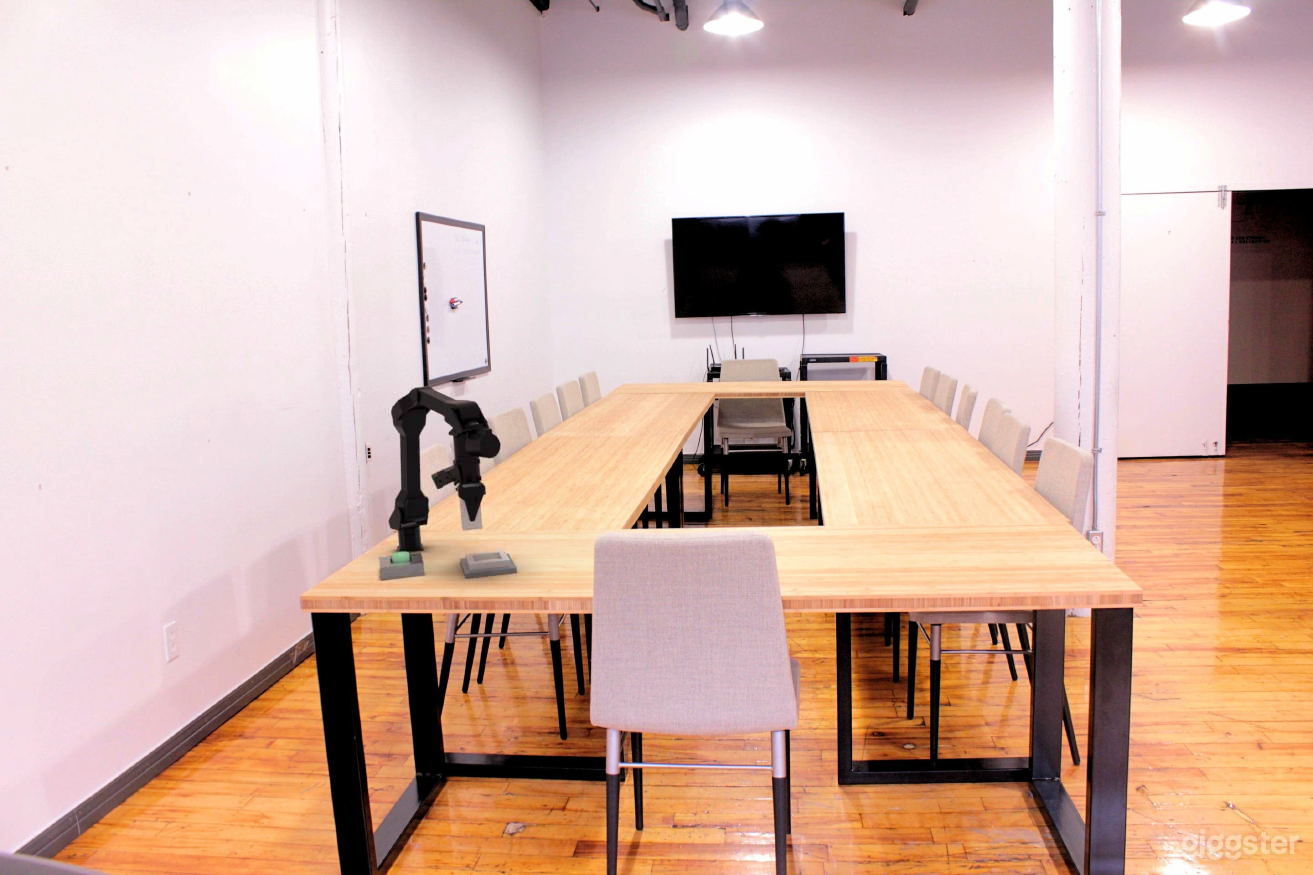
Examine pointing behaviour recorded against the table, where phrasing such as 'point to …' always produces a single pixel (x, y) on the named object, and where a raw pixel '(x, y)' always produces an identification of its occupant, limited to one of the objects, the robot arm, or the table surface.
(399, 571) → the square peg board
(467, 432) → the robot arm
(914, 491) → the table surface
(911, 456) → the table surface
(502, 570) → the grey slotted socket base
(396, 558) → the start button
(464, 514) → the block
